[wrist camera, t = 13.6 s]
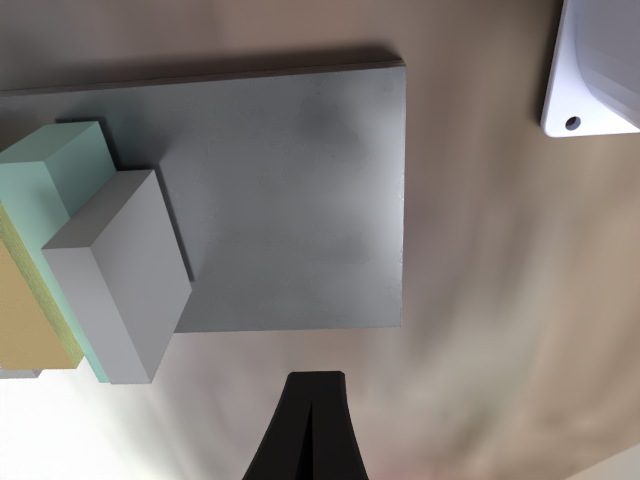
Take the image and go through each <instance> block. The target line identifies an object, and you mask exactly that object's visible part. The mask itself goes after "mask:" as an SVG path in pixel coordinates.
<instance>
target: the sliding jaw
mask: <svg viewBox="0 0 640 480" xmlns="http://www.w3.org/2000/svg"><path fill="white" fill-rule="evenodd" d="M0 201H1V203H2V205H3V207H4V208H5V210H6V212H7V214H8V216H9V218H10V219H11V221H12V223H13V225H14V227H15V229H16V230H17V232H18V234H19V236H20V238H21V239H22V241H23V243H24V245H25V247H26V249H27V250H28V252H29V254H30V256H31V258H32V260H33V261H34V263H35V265H36V267H37V269H38V271H39V272H40V274H41V276H42V278H43V280H44V282H45V283H46V285H47V287H48V289H49V291H50V293H51V294H52V296H53V298H54V300H55V302H56V304H57V305H58V307H59V309H60V311H61V313H62V315H63V316H64V318H65V320H66V322H67V324H68V326H69V327H70V329H71V331H72V333H73V335H74V336H75V338H76V340H77V342H78V344H79V346H80V347H81V349H82V351H83V353H84V355H85V357H86V358H87V360H88V362H89V364H90V366H91V368H92V369H93V371H94V373H95V375H96V377H97V379H98V380H99V382H100V383H108V382H110V383H111V384H151V383H152V380H153V378H154V376H155V373H156V371H157V369H158V367H159V364H160V362H161V360H162V357H163V355H164V353H165V351H166V348H167V346H168V344H169V341H170V339H171V337H172V334H173V332H174V330H175V328H176V325H177V323H178V321H179V318H180V316H181V314H182V312H183V309H184V307H185V305H186V302H187V300H188V298H189V296H190V293H191V291H192V288H191V285H190V282H189V279H188V275H187V272H186V269H185V266H184V263H183V260H182V256H181V253H180V250H179V247H178V244H177V241H176V237H175V234H174V231H173V228H172V225H171V222H170V219H169V215H168V212H167V209H166V206H165V203H164V200H163V196H162V193H161V190H160V187H159V184H158V181H157V177H156V174H155V171H154V169H152V170H135V171H118V172H116V169H115V166H114V164H113V161H112V158H111V155H110V153H109V150H108V147H107V145H106V142H105V139H104V136H103V134H102V131H101V128H100V126H99V123H98V121H90V122H75V123H61V124H47V125H44V126H42V127H41V128H39V129H38V130H36V131H34V132H33V133H31V134H30V135H28V136H26V137H25V138H23V139H22V140H20V141H18V142H17V143H15V144H14V145H12V146H10V147H9V148H7V149H6V150H4V151H2V152H1V153H0Z"/></svg>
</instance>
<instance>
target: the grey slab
mask: <svg viewBox="0 0 640 480" xmlns="http://www.w3.org/2000/svg"><path fill="white" fill-rule="evenodd" d="M405 114H406V64H405V62H404V60H393V61H380V62H367V63H354V64H341V65H328V66H316V67H303V68H290V69H277V70H264V71H251V72H238V73H225V74H212V75H199V76H186V77H173V78H161V79H148V80H135V81H122V82H109V83H96V84H83V85H70V86H57V87H44V88H31V89H18V90H6V91H0V153H1V152H2V151H4V150H6V149H7V148H9V147H10V146H12V145H14V144H15V143H17V142H18V141H20V140H22V139H23V138H25V137H26V136H28V135H30V134H31V133H33V132H34V131H36V130H38V129H39V128H41V127H42V126H44V125H47V124H61V123H75V122H90V121H98V123H99V126H100V128H101V131H102V134H103V136H104V139H105V142H106V145H107V147H108V150H109V153H110V155H111V158H112V161H113V164H114V166H115V169H116V172H118V171H135V170H152V169H154V171H155V174H156V177H157V181H158V184H159V187H160V190H161V193H162V196H163V200H164V203H165V206H166V209H167V212H168V215H169V219H170V222H171V225H172V228H173V231H174V234H175V237H176V241H177V244H178V247H179V250H180V253H181V256H182V260H183V263H184V266H185V269H186V272H187V275H188V279H189V282H190V285H191V288H192V291H191V293H190V296H189V298H188V300H187V302H186V305H185V307H184V309H183V312H182V314H181V316H180V318H179V321H178V323H177V325H176V328H175V330H174V332H173V333H189V332H228V331H266V330H305V329H343V328H382V327H401V303H402V256H403V208H404V161H405ZM42 370H43V369H38V370H3V368H2V367H1V365H0V379H10V378H37V377H38V376H39V375H40V373H41V372H42Z"/></svg>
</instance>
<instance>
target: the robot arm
mask: <svg viewBox="0 0 640 480" xmlns="http://www.w3.org/2000/svg"><path fill="white" fill-rule="evenodd" d="M574 116H576V121H575V123H574V124H573V125H571V126H569V127H565V124H566V122H567V120H568V119H569V118H571V117H574ZM541 129H542V130H543V132H544V133H545V134H547V135H548V136H550V137H568V136H585V135H601V134H618V133H634V132H640V0H564V3H563V9H562V14H561V19H560V24H559V29H558V34H557V40H556V45H555V50H554V55H553V60H552V66H551V71H550V76H549V81H548V86H547V92H546V97H545V102H544V107H543V112H542V118H541ZM242 480H369V479H368V476H367V473H366V470H365V467H364V464H363V461H362V458H361V454H360V451H359V448H358V444H357V441H356V438H355V434H354V430H353V427H352V423H351V418H350V414H349V409H348V404H347V394H346V383H345V374H344V373H342V372H341V371H312V372H291V373H290V374H289V375H288V377H287V380H286V383H285V386H284V389H283V392H282V395H281V398H280V400H279V403H278V405H277V408H276V410H275V413H274V415H273V417H272V420H271V422H270V424H269V427H268V429H267V431H266V433H265V435H264V437H263V439H262V441H261V444H260V446H259V448H258V450H257V452H256V454H255V456H254V458H253V460H252V462H251V464H250V466H249V468H248V469H247V471H246V473H245V475H244V477H243V479H242Z"/></svg>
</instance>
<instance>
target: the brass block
mask: <svg viewBox="0 0 640 480" xmlns="http://www.w3.org/2000/svg"><path fill="white" fill-rule="evenodd" d="M83 357H84V353H83V351H82V349H81V347H80V346H79V344H78V342H77V340H76V338H75V336H74V335H73V333H72V331H71V329H70V327H69V326H68V324H67V322H66V320H65V318H64V316H63V315H62V313H61V311H60V309H59V307H58V305H57V304H56V302H55V300H54V298H53V296H52V294H51V293H50V291H49V289H48V287H47V285H46V283H45V282H44V280H43V278H42V276H41V274H40V272H39V271H38V269H37V267H36V265H35V263H34V261H33V260H32V258H31V256H30V254H29V252H28V250H27V249H26V247H25V245H24V243H23V241H22V239H21V238H20V236H19V234H18V232H17V230H16V229H15V227H14V225H13V223H12V221H11V219H10V218H9V216H8V214H7V212H6V210H5V208H4V207H3V205H2V203H1V201H0V365H1V367H2V368H3V370H38V369H76V368H77V366H78V365H79V363H80V361H81V360H82V358H83Z"/></svg>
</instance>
